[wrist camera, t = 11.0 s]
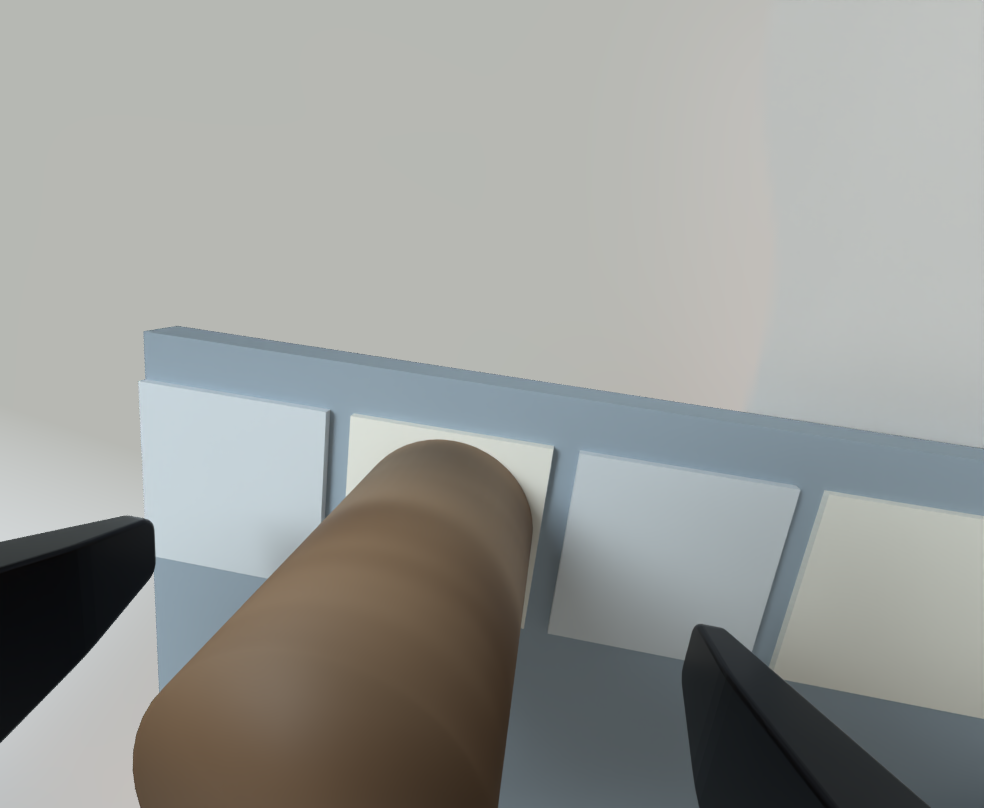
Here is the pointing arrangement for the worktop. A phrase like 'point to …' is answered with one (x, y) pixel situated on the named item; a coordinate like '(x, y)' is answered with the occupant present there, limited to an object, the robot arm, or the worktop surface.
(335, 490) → the board
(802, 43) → the worktop surface
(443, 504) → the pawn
